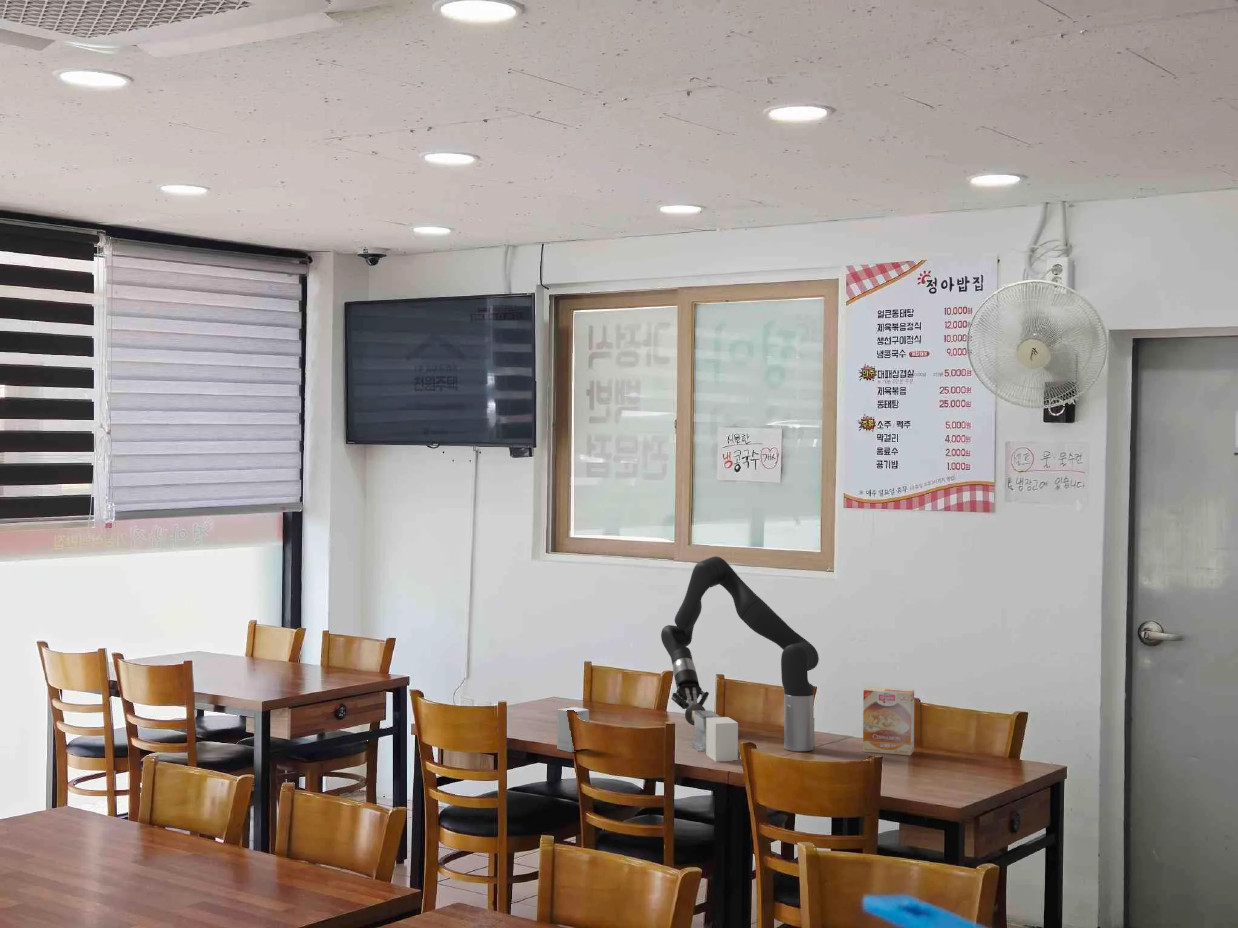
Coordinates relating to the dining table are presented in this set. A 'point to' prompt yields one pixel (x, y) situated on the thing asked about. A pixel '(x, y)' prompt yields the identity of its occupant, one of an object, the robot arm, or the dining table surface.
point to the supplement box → (567, 727)
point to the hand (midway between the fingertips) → (695, 717)
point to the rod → (693, 713)
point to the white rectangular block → (721, 739)
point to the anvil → (701, 729)
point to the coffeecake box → (888, 720)
